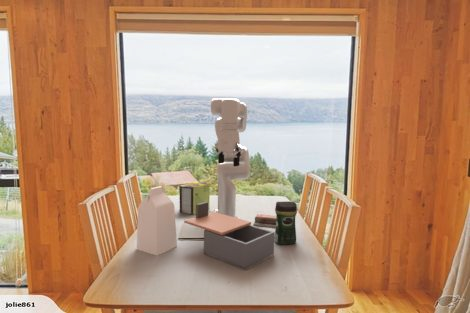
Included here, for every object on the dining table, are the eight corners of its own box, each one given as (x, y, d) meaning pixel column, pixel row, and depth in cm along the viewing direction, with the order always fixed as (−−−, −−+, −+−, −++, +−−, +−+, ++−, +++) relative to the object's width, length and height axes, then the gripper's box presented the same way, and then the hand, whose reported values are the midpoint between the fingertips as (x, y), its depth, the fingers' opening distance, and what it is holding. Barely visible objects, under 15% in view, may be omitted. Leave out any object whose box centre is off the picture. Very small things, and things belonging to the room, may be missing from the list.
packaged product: (253, 217, 178) (257, 212, 188) (253, 226, 179) (257, 220, 189) (288, 220, 174) (291, 215, 183) (288, 230, 174) (290, 224, 184)
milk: (156, 255, 140) (156, 192, 137) (136, 249, 146) (135, 188, 143) (177, 246, 150) (176, 186, 147) (157, 240, 156) (156, 183, 153)
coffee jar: (293, 238, 161) (294, 199, 159) (297, 245, 154) (299, 204, 151) (272, 239, 161) (273, 199, 158) (276, 245, 153) (277, 204, 150)
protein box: (209, 208, 208) (210, 183, 206) (193, 215, 195) (193, 187, 193) (195, 206, 214) (196, 181, 212) (179, 212, 201) (178, 185, 199)
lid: (184, 222, 149) (184, 206, 148) (213, 213, 162) (214, 199, 162) (222, 235, 135) (222, 217, 134) (251, 224, 148) (251, 208, 147)
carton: (203, 253, 143) (204, 230, 141) (232, 241, 156) (233, 220, 155) (245, 270, 128) (246, 244, 127) (273, 255, 142) (274, 232, 141)
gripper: (210, 126, 160) (209, 162, 163) (237, 128, 148) (236, 168, 151) (221, 125, 165) (221, 161, 168) (249, 127, 153) (248, 166, 156)
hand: (228, 164), depth 159 cm, fingers open, 9 cm apart
